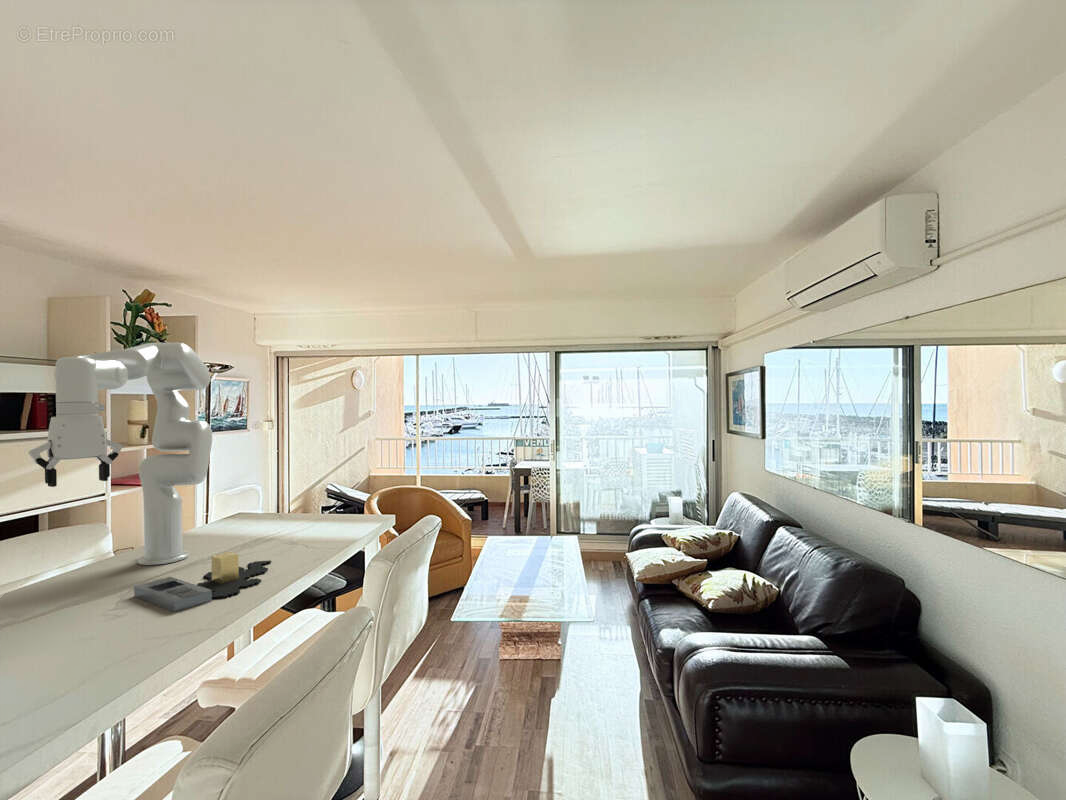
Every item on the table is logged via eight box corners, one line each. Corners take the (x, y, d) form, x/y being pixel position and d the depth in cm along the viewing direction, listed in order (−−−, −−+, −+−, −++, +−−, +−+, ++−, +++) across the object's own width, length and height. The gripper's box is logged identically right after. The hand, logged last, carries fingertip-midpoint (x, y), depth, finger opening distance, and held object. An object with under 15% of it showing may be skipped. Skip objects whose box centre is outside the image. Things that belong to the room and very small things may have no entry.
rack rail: (134, 596, 131) (134, 585, 131) (170, 586, 138) (170, 576, 138) (175, 612, 121) (174, 600, 121) (212, 600, 127) (212, 589, 127)
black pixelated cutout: (219, 566, 156) (173, 604, 127) (219, 563, 156) (173, 600, 127) (279, 562, 159) (248, 597, 130) (278, 558, 159) (247, 593, 130)
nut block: (212, 583, 140) (211, 556, 140) (229, 578, 144) (229, 552, 144) (221, 586, 138) (220, 558, 138) (238, 581, 142) (238, 554, 142)
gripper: (114, 409, 136) (115, 477, 136) (22, 411, 121) (23, 487, 121) (127, 409, 132) (128, 479, 132) (34, 411, 117) (35, 490, 117)
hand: (78, 483), depth 127 cm, fingers open, 9 cm apart
